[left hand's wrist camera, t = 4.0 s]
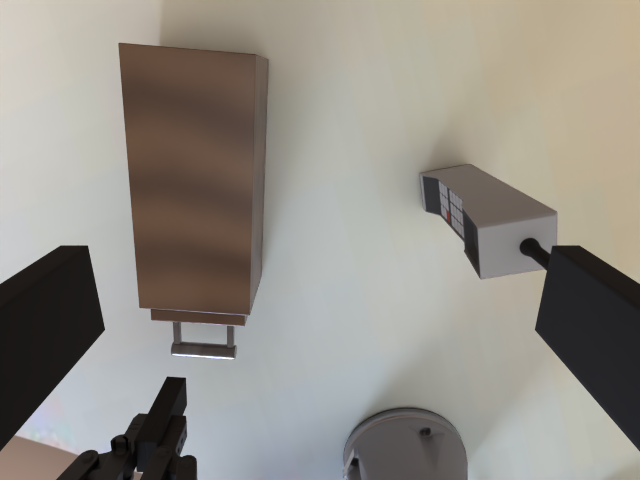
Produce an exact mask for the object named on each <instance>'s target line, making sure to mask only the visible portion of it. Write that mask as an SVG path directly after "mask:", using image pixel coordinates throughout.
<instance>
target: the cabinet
mask: <svg viewBox="0 0 640 480" xmlns="http://www.w3.org/2000/svg"><path fill="white" fill-rule="evenodd" d="M119 56H120V69H121V81H122V94H123V106H124V119H125V131H126V144H127V157H128V169H129V182H130V194H131V207H132V219H133V232H134V244H135V257H136V270H137V282H138V295H139V307H140V308H147V309H162V310H177V311H191V312H206V313H221V314H236V315H250V313H251V309H252V306H253V303H254V299H255V296H256V293H257V289H258V286H259V283H260V279H261V272H262V241H263V211H264V181H265V150H266V120H267V90H268V59H265V58H263V57H260V56H258V55H255V54H245V53H233V52H221V51H210V50H198V49H186V48H174V47H162V46H151V45H139V44H127V43H119Z"/></svg>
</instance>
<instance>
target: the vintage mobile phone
mask: <svg viewBox="0 0 640 480" xmlns="http://www.w3.org/2000/svg"><path fill="white" fill-rule="evenodd" d="M420 181H421V190H422V200H423V209H424V210H425V211H426V212H429V213H432V214H436V215H439V216H441V217H442V218H443V219H444V220H445V221H446V222H447V224H448V225H449V226H450V227H451V228H452V229H453V230H454V231H455V233H456V234H457V235H458V236H459V237H460V238H461V239H462V240H463V241H464V243H465V250H464V252H465V254H466V255H467V257H468V259H469V261H470V262H471V264H472V266H473V267H474V269H475V271H476V273H477V274H478V276H479V278H480V279H487V278H493V277H499V276H506V275H512V274H518V273H524V272H530V271H536V270H542V269H546V270H547V268H548V264H549V259H550V254H551V249H552V246H557V211H555V210H553V209H551V208H549V207H548V206H546V205H544V204H542V203H540V202H539V201H537V200H535V199H533V198H531V197H529V196H528V195H526V194H524V193H522V192H520V191H519V190H517V189H515V188H513V187H511V186H510V185H508V184H506V183H504V182H502V181H500V180H499V179H497V178H495V177H493V176H491V175H490V174H488V173H486V172H484V171H482V170H480V169H479V168H477V167H475V166H473V165H471V164H468V165H462V166H457V167H451V168H446V169H440V170H434V171H429V172H423V173H420Z"/></svg>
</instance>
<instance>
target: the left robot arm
mask: <svg viewBox="0 0 640 480" xmlns="http://www.w3.org/2000/svg"><path fill="white" fill-rule="evenodd" d="M104 330H105V327H104V322H103V317H102V312H101V308H100V303H99V298H98V293H97V288H96V283H95V278H94V273H93V268H92V264H91V259H90V254H89V249H88V246H59V247H58V248H56V249H55V250H53V251H51V252H50V253H48V254H47V255H45V256H44V257H42V258H40V259H39V260H37V261H36V262H34V263H33V264H31V265H29V266H28V267H26V268H25V269H23V270H22V271H20V272H18V273H17V274H15V275H14V276H12V277H11V278H9V279H7V280H6V281H4V282H3V283H1V284H0V451H1V450H2V449H3V447H4V446H5V445H6V444H7V443H8V442H9V441H10V439H11V438H12V437H13V436H14V435H15V434H16V432H17V431H18V430H19V429H20V428H21V427H22V425H23V424H24V423H25V422H26V421H27V420H28V419H29V417H30V416H31V415H32V414H33V413H34V412H35V410H36V409H37V408H38V407H39V406H40V405H41V403H42V402H43V401H44V400H45V399H46V398H47V396H48V395H49V394H50V393H51V392H52V391H53V390H54V388H55V387H56V386H57V385H58V384H59V383H60V381H61V380H62V379H63V378H64V377H65V376H66V374H67V373H68V372H69V371H70V370H71V369H72V368H73V366H74V365H75V364H76V363H77V362H78V361H79V359H80V358H81V357H82V356H83V355H84V354H85V352H86V351H87V350H88V349H89V348H90V347H91V345H92V344H93V343H94V342H95V341H96V340H97V339H98V337H99V336H100V335H101V334H102V333H103V332H104ZM535 330H536V332H537V333H538V334H539V335H540V336H541V337H542V339H543V340H544V341H545V342H546V343H547V344H548V345H549V347H550V348H551V349H552V350H553V351H554V352H555V354H556V355H557V356H558V357H559V358H560V359H561V361H562V362H563V363H564V364H565V365H566V366H567V368H568V369H569V370H570V371H571V372H572V373H573V374H574V376H575V377H576V378H577V379H578V380H579V381H580V383H581V384H582V385H583V386H584V387H585V388H586V390H587V391H588V392H589V393H590V394H591V395H592V396H593V398H594V399H595V400H596V401H597V402H598V403H599V405H600V406H601V407H602V408H603V409H604V410H605V412H606V413H607V414H608V415H609V416H610V417H611V419H612V420H613V421H614V422H615V423H616V424H617V425H618V427H619V428H620V429H621V430H622V431H623V432H624V434H625V435H626V436H627V437H628V438H629V439H630V441H631V442H632V443H633V444H634V445H635V446H636V448H637V449H638V450H639V451H640V284H639V283H637V282H636V281H634V280H633V279H631V278H629V277H628V276H626V275H625V274H623V273H622V272H620V271H618V270H617V269H615V268H614V267H612V266H611V265H609V264H607V263H606V262H604V261H603V260H601V259H600V258H598V257H596V256H595V255H593V254H592V253H590V252H589V251H587V250H585V249H584V248H582V247H581V246H552V249H551V254H550V259H549V264H548V268H547V273H546V278H545V283H544V288H543V293H542V298H541V303H540V308H539V312H538V317H537V322H536V327H535Z"/></svg>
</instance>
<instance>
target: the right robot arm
mask: <svg viewBox="0 0 640 480" xmlns="http://www.w3.org/2000/svg"><path fill="white" fill-rule="evenodd" d="M186 406H187V395H186V378H180V377H167V378H166V380H165V382H164V384H163V386H162V388H161V390H160V392H159V394H158V395H157V397H156V399H155V401H154V403H153V405H152V407H151V409H150V411H149V413H148V414H138V415H137V416H135V417H134V418H133V420H132V422H131V424H130V425H129V427H128V429H127V431H126V433H125V434H123V435H118V436H116V437H114V438H113V439H112V440H111V449H112V450H111V451H110V452H107V453H103V454H98V452H97V451H95V450H88V451H85V452H83V453H82V454H80V455H79V456H78V457H77V459H75V461H74V462H73V463H72V464H71V465H70V466H69V467H68V468H67V469H66V470H65V471H64V472H63V473H62V474H61V475H60V476H59V477H58V478H57V479H56V480H133V478H134V470H135V468H136V467H137V472H143V474H142V477H141V479H140V480H197V461H196V458H195V457H194V456H192V455H186V456H183V457H180V454H181V451H182V448H183V446H184V443H185V440H186V438H187V422H186V416H183V413H184V411H185V408H186ZM344 476H346V479H347V480H468V471H467V457H466V451H465V448H464V445H463V443H462V440H461V438H460V436H459V434H458V432H457V431H456V429H455V428H454V427H453V426H452V425H451V424H450V423H449V422H448V421H447V420H445V419H444V418H442V417H440V416H439V415H436V414H434V413H431V412H429V411H425V410H420V409H407V408H405V409H395V410H390V411H386V412H383V413H380V414H377V415H375V416H373V417H371V418H369V419H368V420H366V421H364V422H363V423H362V424H361V425H359V426H358V427H357V428H356V429H355V430H354V431H353V433H352V434H351V435H350V437H349V439H348V441H347V443H346V446H345V449H344V470H343V478H344Z"/></svg>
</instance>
